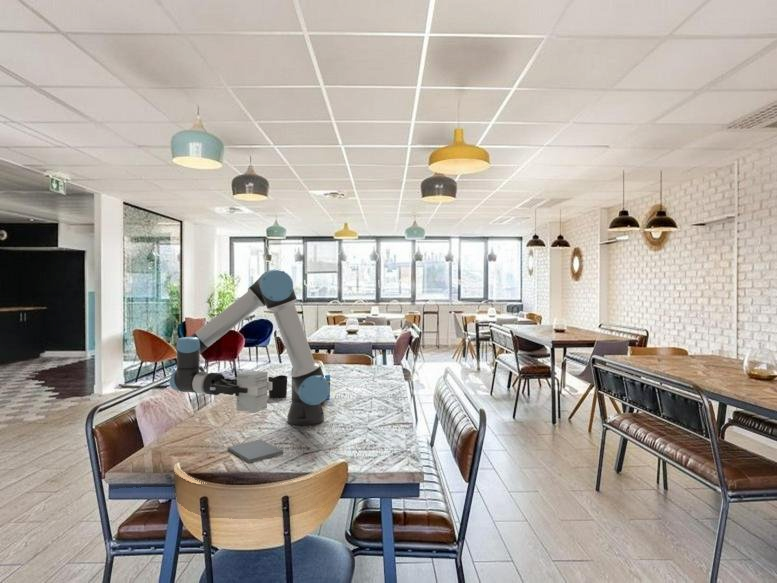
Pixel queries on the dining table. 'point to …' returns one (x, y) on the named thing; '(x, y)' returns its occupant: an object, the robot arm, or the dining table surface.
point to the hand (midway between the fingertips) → (264, 388)
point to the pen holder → (278, 386)
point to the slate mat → (255, 450)
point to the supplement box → (252, 401)
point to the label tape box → (329, 385)
